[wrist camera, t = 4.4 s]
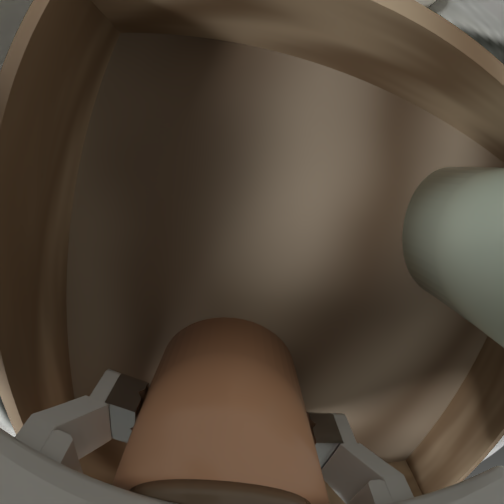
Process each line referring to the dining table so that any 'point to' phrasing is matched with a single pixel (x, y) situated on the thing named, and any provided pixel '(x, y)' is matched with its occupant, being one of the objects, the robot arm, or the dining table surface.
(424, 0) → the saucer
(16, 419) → the wooden tray
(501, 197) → the sage pot
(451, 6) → the dining table surface
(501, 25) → the dining table surface
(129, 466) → the terracotta pot
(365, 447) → the robot arm
